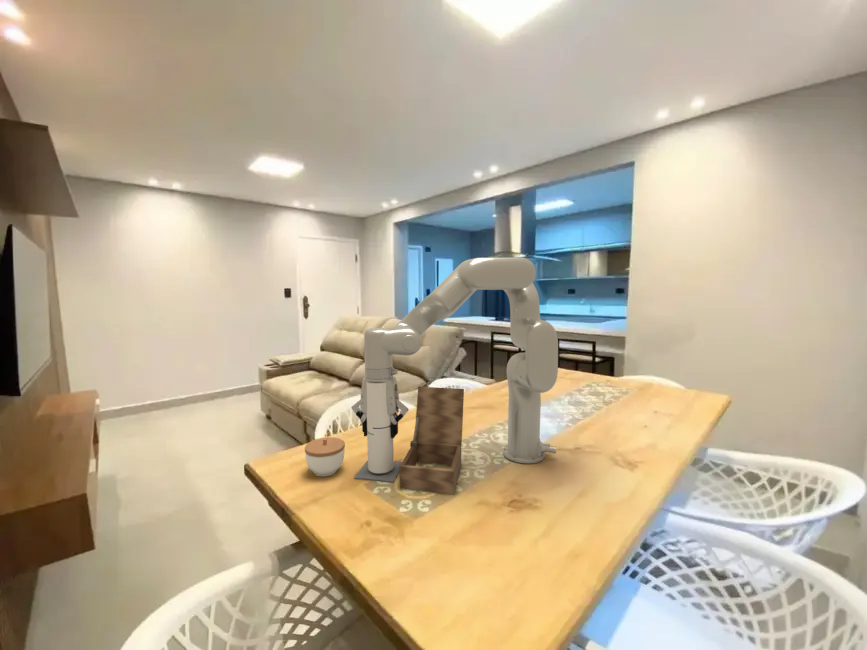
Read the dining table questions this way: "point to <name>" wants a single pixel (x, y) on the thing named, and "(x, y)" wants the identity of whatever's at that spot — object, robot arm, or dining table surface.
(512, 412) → the robot arm
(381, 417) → the cylindrical container
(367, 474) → the mat
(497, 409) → the dining table surface
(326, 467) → the lidded jar
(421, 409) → the case
